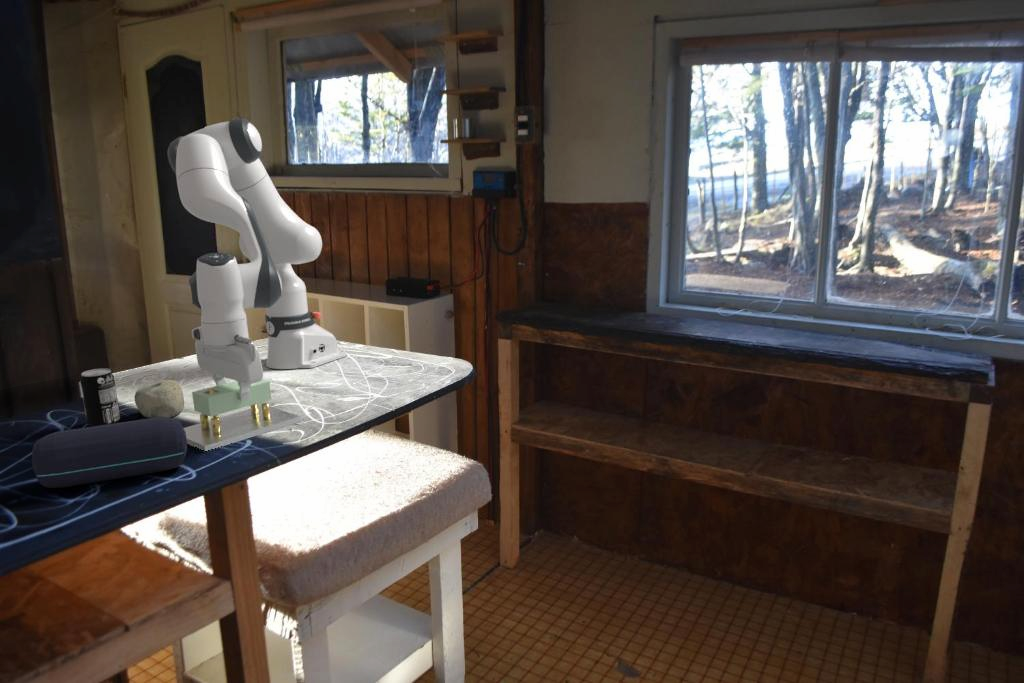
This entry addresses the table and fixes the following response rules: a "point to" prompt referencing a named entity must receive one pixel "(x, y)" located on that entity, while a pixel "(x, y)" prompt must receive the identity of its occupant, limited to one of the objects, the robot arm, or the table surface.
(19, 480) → the table surface
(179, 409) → the stone
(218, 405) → the board
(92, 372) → the beverage can
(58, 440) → the portable speaker
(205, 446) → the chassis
